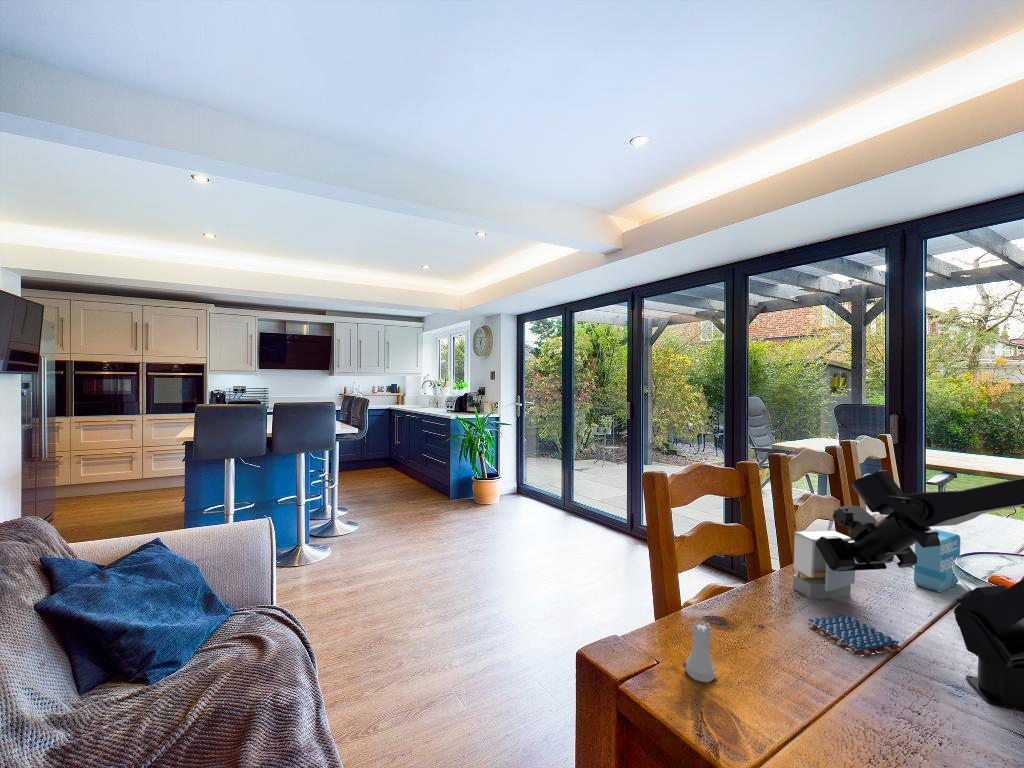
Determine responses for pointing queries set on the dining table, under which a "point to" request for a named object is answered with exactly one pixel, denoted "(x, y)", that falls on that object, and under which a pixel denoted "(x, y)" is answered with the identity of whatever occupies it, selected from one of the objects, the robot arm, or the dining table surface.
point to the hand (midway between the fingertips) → (839, 568)
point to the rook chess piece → (700, 654)
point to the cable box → (814, 566)
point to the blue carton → (937, 562)
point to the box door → (838, 578)
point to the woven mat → (854, 635)
